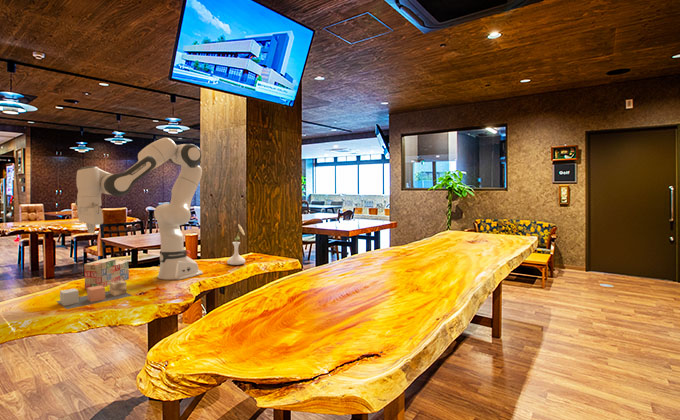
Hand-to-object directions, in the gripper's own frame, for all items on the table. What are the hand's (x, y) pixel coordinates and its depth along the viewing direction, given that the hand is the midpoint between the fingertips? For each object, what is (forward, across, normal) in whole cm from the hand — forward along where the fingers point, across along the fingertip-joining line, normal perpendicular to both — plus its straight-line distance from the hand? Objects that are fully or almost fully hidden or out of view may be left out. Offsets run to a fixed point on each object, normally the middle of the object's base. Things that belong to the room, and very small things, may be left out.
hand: (91, 232), depth 164 cm
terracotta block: (+26, -16, +4) cm, 31 cm away
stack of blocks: (+27, +8, -8) cm, 30 cm away
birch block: (+26, -13, -5) cm, 30 cm away
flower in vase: (+29, 0, -78) cm, 83 cm away
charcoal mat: (+27, -14, +4) cm, 30 cm away
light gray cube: (+26, -13, +13) cm, 32 cm away
